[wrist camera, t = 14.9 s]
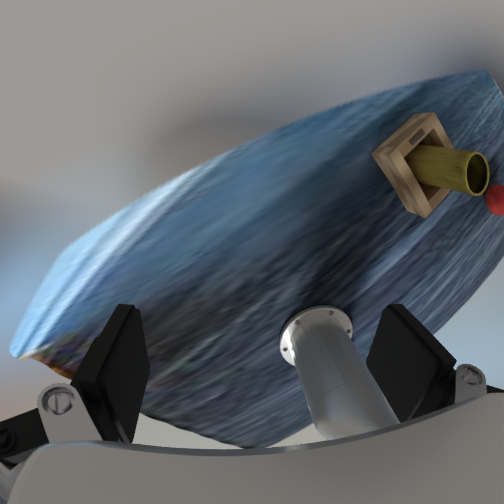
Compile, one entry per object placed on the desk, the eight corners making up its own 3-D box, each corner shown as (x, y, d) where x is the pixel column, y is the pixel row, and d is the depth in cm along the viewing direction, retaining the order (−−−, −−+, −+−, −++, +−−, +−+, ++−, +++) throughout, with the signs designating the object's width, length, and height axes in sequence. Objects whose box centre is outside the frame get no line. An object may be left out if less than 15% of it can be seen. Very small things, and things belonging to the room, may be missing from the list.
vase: (395, 180, 37) (461, 198, 24) (397, 140, 35) (464, 143, 22) (424, 183, 38) (489, 201, 24) (426, 145, 36) (492, 152, 22)
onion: (488, 175, 38) (517, 183, 31) (494, 199, 40) (522, 208, 32) (474, 191, 39) (504, 200, 31) (481, 215, 41) (509, 226, 33)
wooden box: (445, 169, 37) (466, 173, 32) (406, 210, 39) (426, 218, 34) (414, 113, 34) (435, 111, 29) (370, 153, 36) (390, 155, 31)
